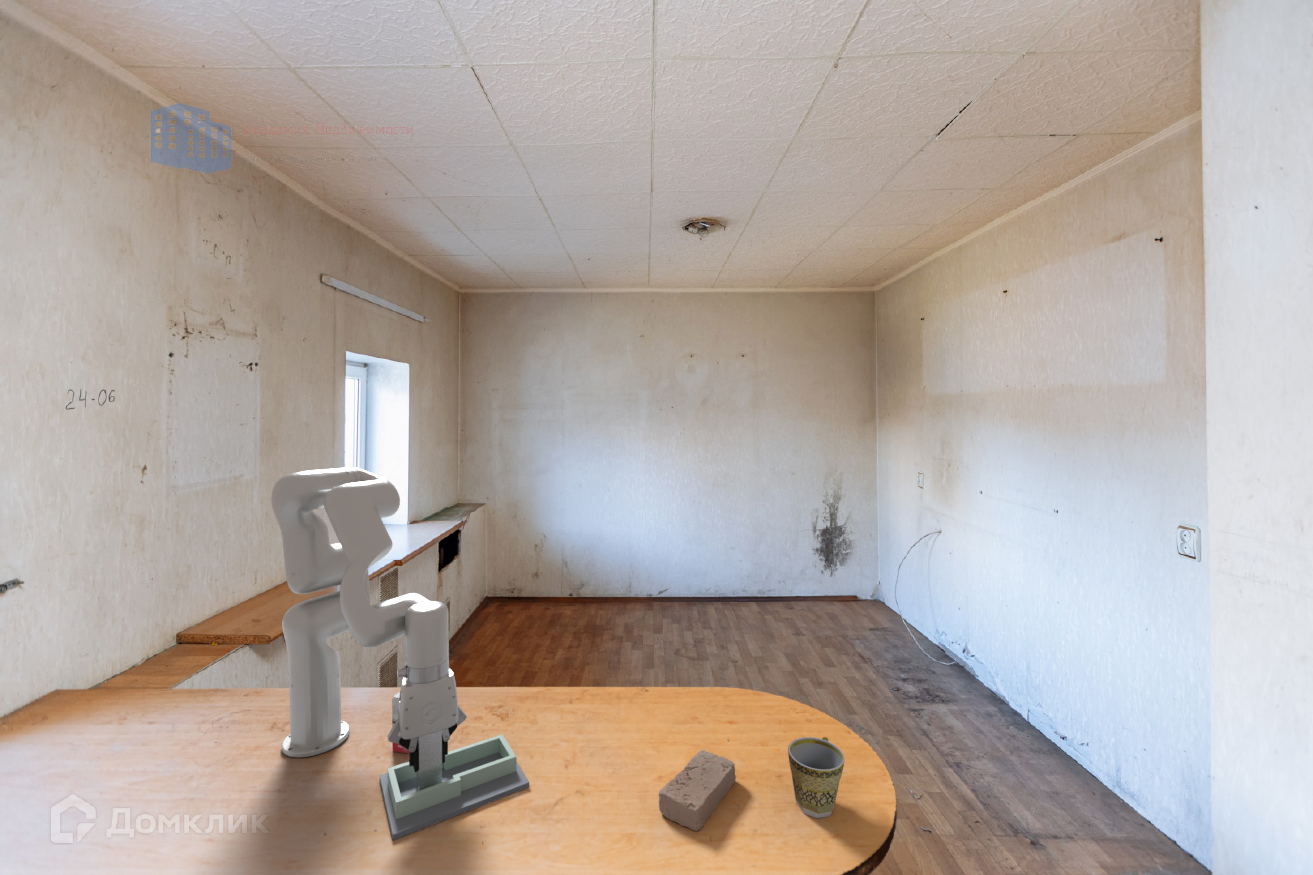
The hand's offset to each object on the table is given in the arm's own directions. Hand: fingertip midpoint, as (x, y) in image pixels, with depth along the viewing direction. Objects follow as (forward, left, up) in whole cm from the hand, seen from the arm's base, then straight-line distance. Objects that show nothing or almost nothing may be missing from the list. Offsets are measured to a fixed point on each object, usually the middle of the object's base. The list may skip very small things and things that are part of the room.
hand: (428, 762), depth 103 cm
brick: (+29, +43, -6) cm, 52 cm away
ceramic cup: (+42, +61, -6) cm, 74 cm away
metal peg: (0, 0, -4) cm, 4 cm away
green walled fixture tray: (0, +5, -6) cm, 7 cm away
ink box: (-19, +1, -6) cm, 20 cm away
